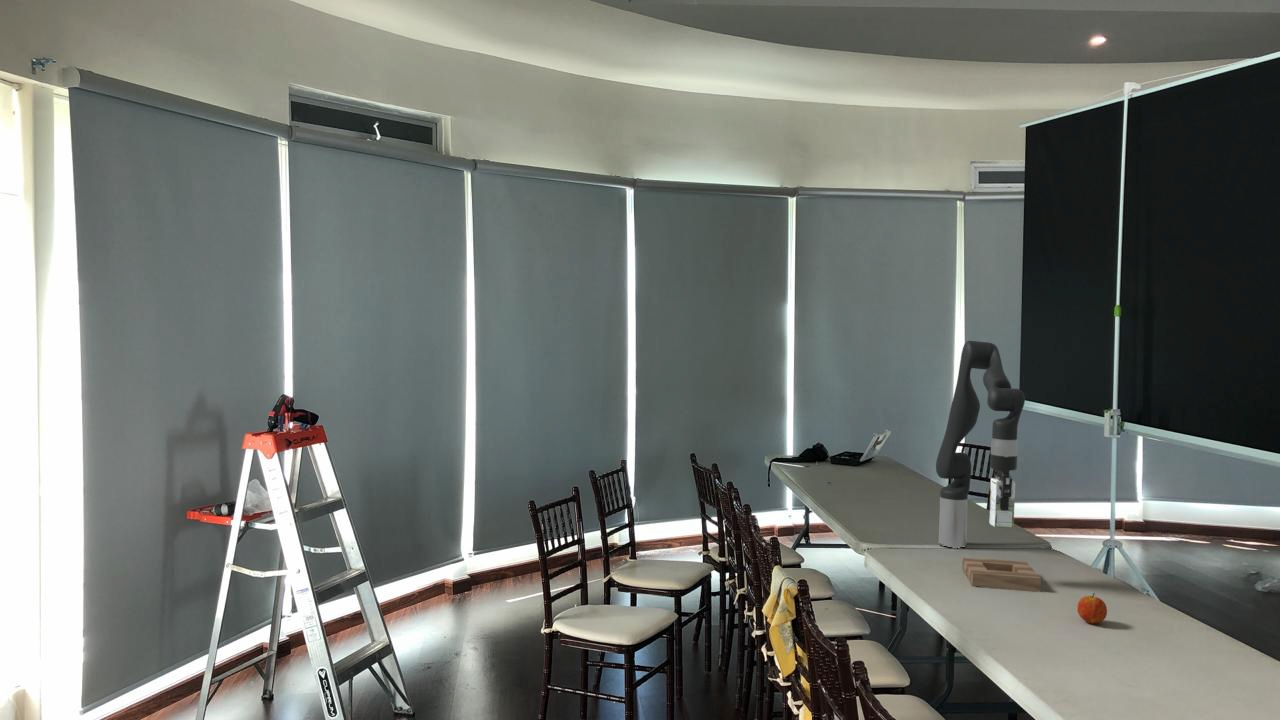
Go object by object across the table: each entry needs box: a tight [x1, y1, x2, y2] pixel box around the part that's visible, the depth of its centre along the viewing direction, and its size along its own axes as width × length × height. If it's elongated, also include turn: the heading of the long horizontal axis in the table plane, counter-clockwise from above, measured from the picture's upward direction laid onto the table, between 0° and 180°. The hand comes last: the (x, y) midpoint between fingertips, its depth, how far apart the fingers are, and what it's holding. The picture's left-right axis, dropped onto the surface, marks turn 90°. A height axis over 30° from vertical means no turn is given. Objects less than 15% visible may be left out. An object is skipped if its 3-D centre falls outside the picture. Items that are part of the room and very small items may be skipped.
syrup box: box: [988, 477, 1016, 529], centre depth 268 cm, size 6×6×14 cm
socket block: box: [961, 557, 1042, 592], centre depth 269 cm, size 19×19×4 cm
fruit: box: [1076, 592, 1108, 625], centre depth 230 cm, size 7×7×8 cm
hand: (1002, 507), depth 268 cm, fingers closed on syrup box, 6 cm apart
